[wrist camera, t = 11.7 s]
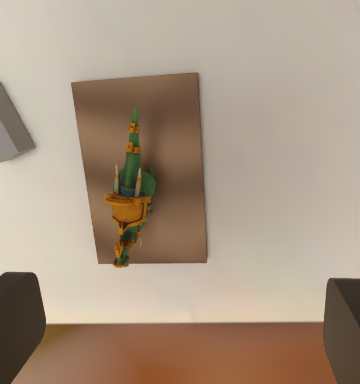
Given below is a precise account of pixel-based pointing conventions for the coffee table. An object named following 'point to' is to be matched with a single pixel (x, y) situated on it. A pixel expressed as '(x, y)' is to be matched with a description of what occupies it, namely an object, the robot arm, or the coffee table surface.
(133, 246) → the walnut board
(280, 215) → the coffee table surface
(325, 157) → the coffee table surface
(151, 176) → the figurine
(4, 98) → the slate-grey brick
